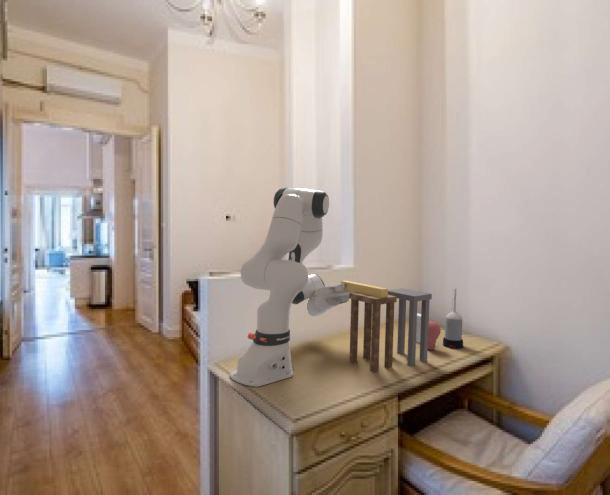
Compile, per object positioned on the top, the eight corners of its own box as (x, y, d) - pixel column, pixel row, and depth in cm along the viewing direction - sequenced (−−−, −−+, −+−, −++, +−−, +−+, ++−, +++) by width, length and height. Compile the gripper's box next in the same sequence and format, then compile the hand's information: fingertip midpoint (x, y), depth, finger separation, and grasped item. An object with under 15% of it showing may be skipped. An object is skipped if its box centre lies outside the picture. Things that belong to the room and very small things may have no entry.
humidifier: (449, 349, 163) (452, 290, 161) (439, 343, 171) (441, 286, 169) (467, 348, 164) (469, 289, 163) (455, 342, 172) (458, 286, 171)
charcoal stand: (383, 355, 153) (385, 290, 151) (400, 351, 159) (402, 288, 157) (411, 367, 141) (414, 296, 140) (429, 361, 147) (431, 293, 146)
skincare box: (426, 342, 172) (427, 315, 171) (420, 343, 170) (421, 316, 169) (415, 338, 177) (416, 312, 176) (409, 340, 175) (410, 313, 174)
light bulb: (440, 353, 157) (442, 324, 157) (422, 351, 159) (423, 322, 158) (438, 347, 164) (439, 319, 163) (421, 346, 166) (422, 318, 165)
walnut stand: (347, 361, 146) (349, 292, 144) (366, 356, 152) (368, 290, 150) (374, 373, 135) (376, 299, 133) (394, 367, 140) (396, 296, 139)
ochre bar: (340, 288, 154) (340, 281, 154) (346, 287, 155) (346, 280, 155) (381, 297, 136) (382, 289, 136) (387, 297, 138) (388, 288, 137)
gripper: (307, 292, 157) (325, 278, 147) (345, 287, 169) (365, 275, 159) (311, 306, 155) (330, 294, 145) (350, 301, 167) (370, 289, 157)
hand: (349, 284), depth 152 cm, fingers open, 3 cm apart
